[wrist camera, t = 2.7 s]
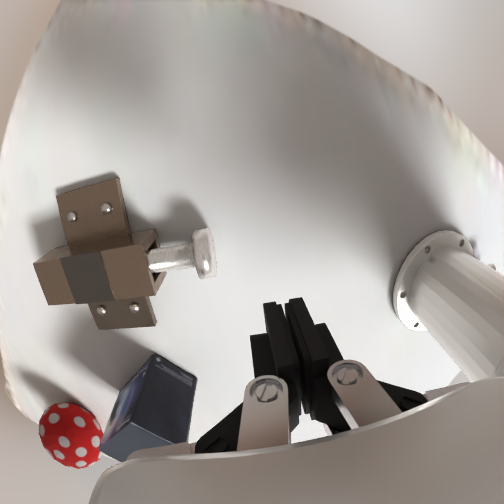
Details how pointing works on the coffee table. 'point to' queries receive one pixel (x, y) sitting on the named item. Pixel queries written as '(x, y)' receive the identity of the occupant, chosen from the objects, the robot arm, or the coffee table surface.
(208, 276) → the hinge pin
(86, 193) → the hinge
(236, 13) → the coffee table surface
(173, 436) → the small box
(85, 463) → the decorative mushroom
